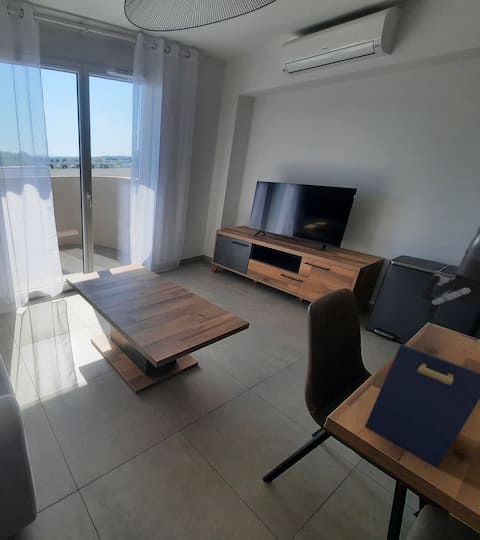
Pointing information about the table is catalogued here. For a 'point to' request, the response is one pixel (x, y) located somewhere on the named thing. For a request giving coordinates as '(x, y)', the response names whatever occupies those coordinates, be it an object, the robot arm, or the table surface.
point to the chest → (409, 434)
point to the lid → (430, 391)
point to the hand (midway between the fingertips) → (458, 326)
